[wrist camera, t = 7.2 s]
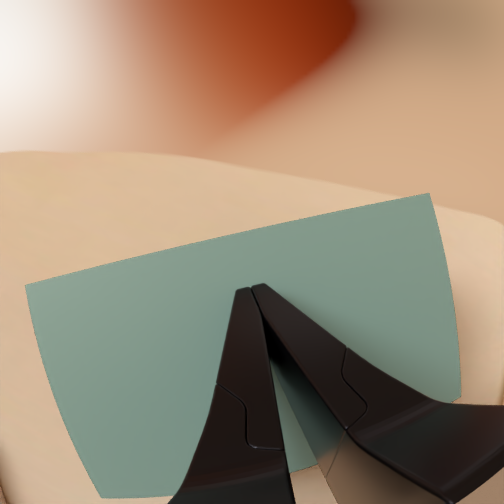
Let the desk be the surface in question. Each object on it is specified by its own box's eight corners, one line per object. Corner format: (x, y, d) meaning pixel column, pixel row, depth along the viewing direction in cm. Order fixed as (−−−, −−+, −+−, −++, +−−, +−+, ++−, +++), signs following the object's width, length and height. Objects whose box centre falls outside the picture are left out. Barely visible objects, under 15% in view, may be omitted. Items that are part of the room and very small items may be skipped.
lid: (446, 390, 11) (461, 396, 10) (108, 485, 9) (101, 498, 8) (414, 199, 11) (429, 193, 10) (39, 285, 9) (24, 285, 8)
